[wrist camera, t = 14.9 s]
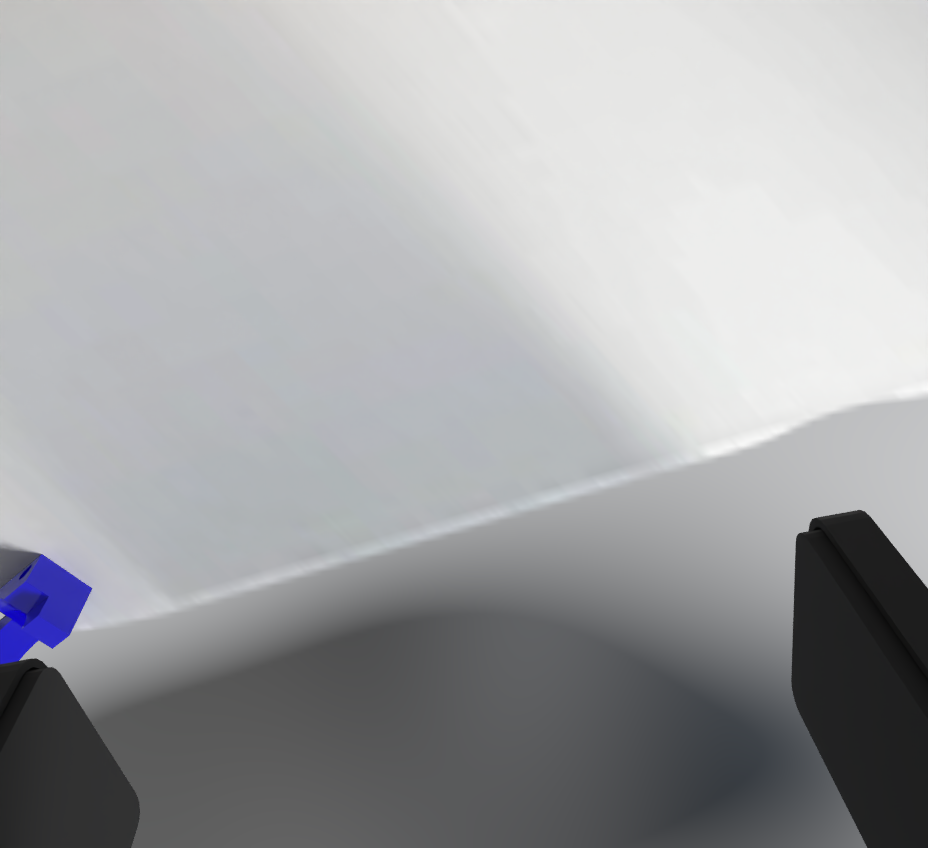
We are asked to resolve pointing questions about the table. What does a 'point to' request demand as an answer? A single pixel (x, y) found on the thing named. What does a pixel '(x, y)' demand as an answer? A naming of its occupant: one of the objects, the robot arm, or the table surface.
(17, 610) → the cable holder
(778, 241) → the table surface
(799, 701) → the robot arm
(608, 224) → the table surface
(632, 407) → the table surface
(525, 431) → the table surface
